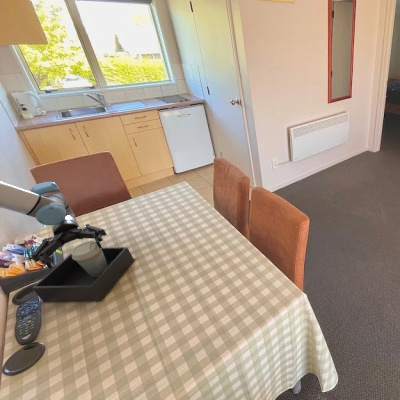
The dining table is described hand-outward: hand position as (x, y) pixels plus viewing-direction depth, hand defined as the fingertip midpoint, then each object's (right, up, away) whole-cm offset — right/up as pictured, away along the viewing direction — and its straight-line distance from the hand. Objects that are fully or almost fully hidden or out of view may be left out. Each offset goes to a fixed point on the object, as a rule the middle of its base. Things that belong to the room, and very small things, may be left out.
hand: (75, 254), depth 90 cm
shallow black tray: (-2, -11, +9) cm, 15 cm away
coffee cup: (-1, -9, +11) cm, 15 cm away
